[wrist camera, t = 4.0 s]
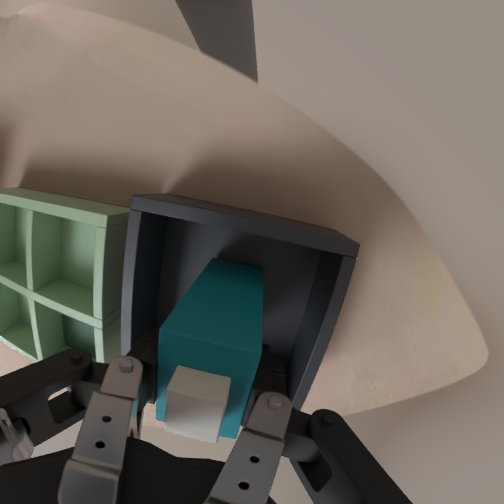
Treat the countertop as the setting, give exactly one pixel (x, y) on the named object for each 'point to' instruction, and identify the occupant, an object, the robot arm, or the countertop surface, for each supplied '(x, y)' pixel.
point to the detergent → (211, 352)
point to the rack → (60, 274)
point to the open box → (244, 252)
